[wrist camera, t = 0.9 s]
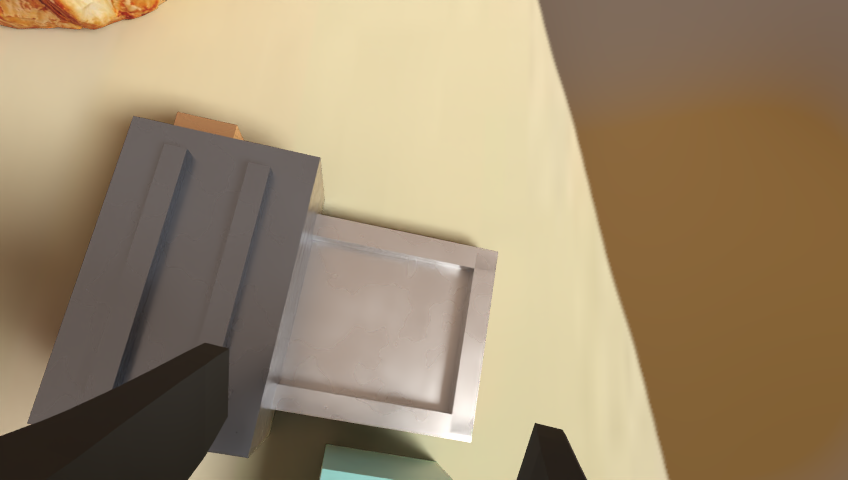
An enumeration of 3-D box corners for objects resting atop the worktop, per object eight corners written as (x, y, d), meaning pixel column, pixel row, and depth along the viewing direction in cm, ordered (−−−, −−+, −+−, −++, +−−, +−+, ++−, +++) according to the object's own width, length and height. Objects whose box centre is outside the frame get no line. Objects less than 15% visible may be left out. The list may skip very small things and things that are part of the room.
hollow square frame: (457, 465, 24) (495, 500, 18) (102, 407, 22) (16, 425, 16) (494, 212, 27) (537, 171, 21) (185, 145, 25) (137, 79, 19)
